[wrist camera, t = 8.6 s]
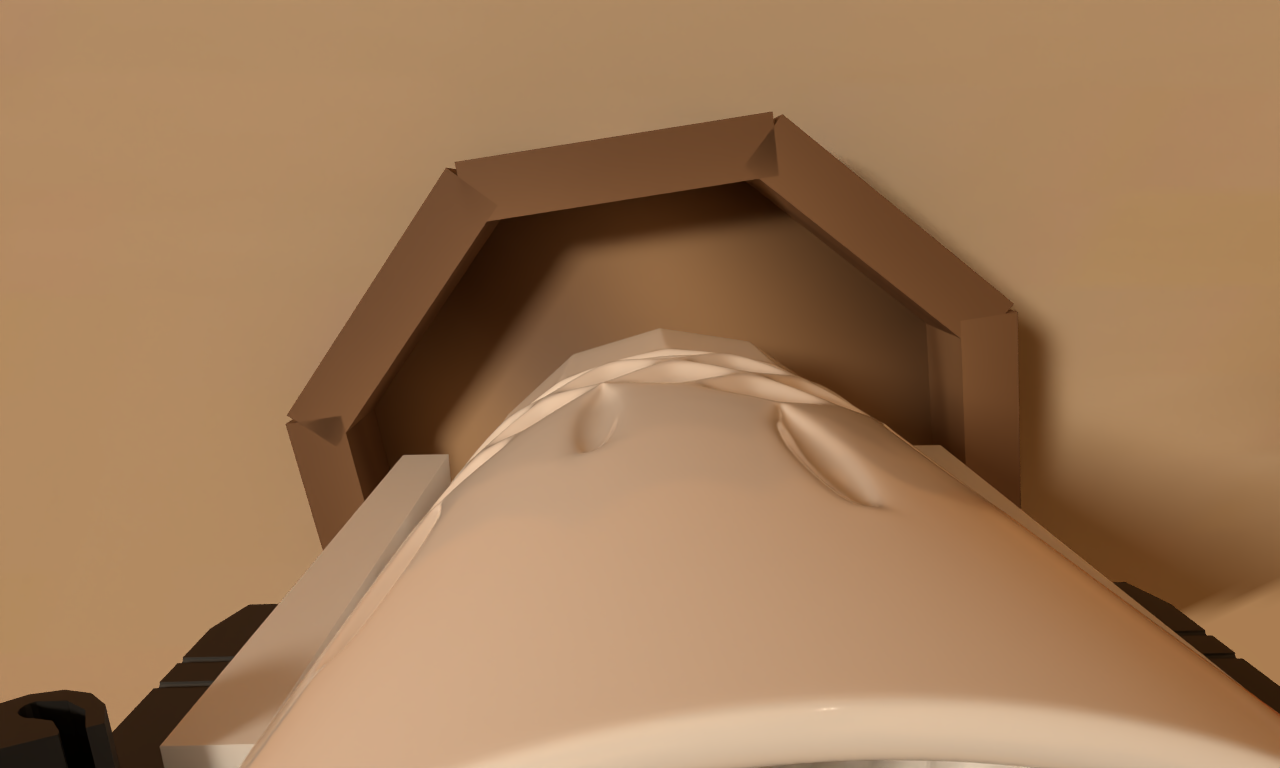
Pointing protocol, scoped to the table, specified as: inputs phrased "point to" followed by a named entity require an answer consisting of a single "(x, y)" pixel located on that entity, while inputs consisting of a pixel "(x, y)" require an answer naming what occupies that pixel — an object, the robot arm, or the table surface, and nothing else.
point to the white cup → (740, 603)
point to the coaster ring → (656, 300)
